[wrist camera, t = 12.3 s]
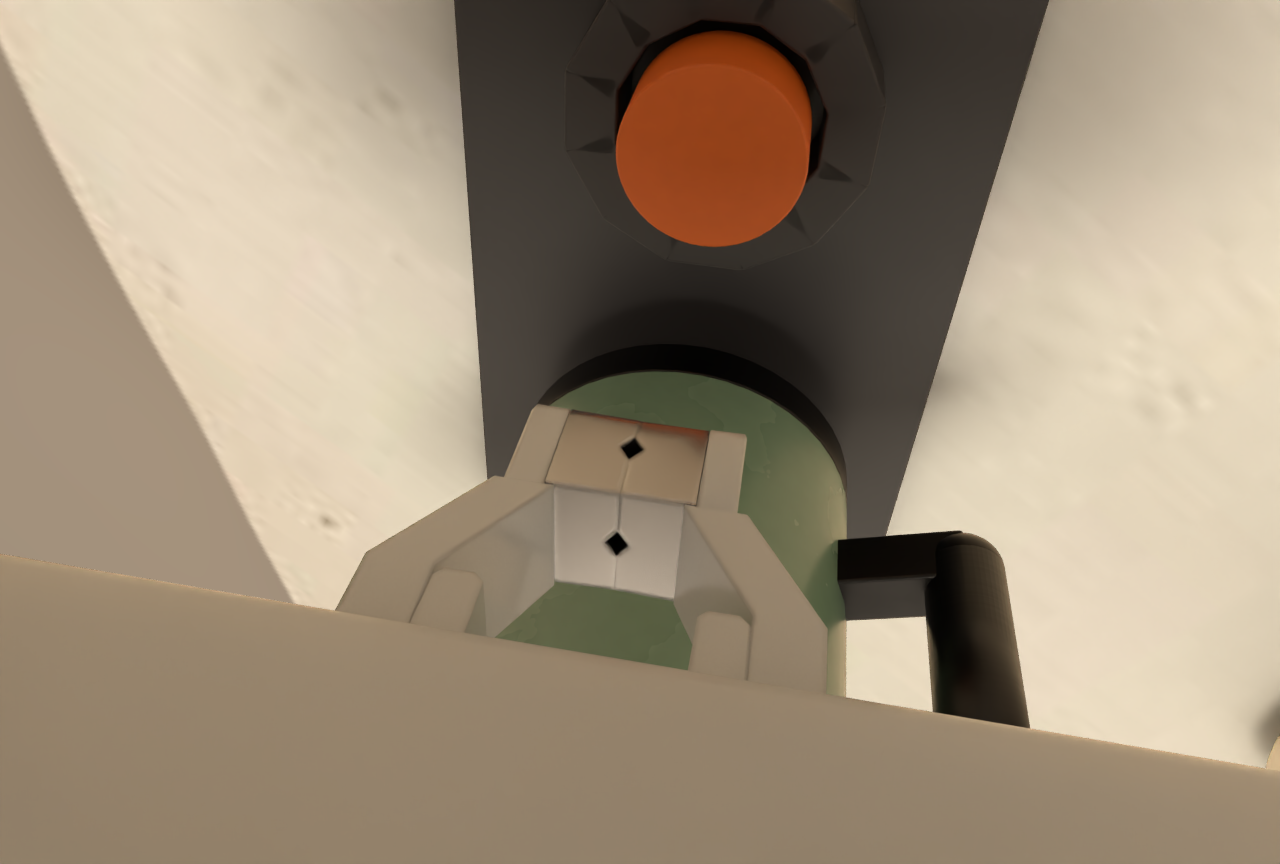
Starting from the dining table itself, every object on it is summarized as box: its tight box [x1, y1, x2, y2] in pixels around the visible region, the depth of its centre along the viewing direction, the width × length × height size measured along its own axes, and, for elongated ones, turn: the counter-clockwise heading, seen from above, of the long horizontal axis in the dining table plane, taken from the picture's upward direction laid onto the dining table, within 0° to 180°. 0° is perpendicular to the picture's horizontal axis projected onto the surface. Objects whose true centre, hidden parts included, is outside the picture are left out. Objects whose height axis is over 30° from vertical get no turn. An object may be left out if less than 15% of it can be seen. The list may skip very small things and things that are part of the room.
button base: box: [454, 0, 1049, 539], centre depth 26 cm, size 18×13×3 cm
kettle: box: [495, 344, 1030, 728], centre depth 22 cm, size 17×9×17 cm, turn 106°
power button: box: [616, 30, 812, 247], centre depth 21 cm, size 4×4×2 cm
